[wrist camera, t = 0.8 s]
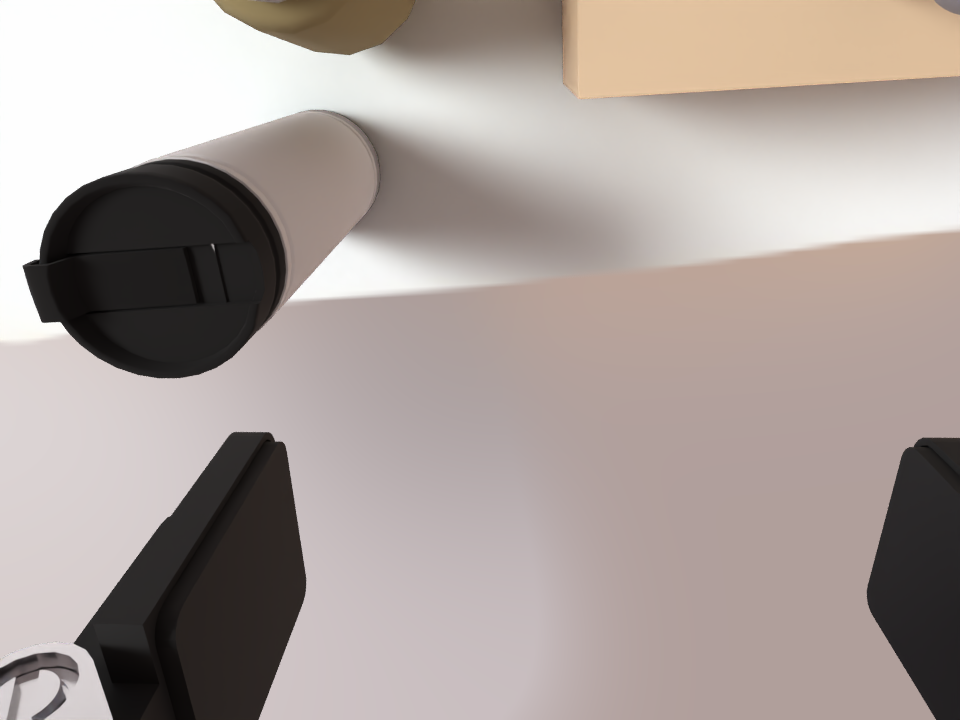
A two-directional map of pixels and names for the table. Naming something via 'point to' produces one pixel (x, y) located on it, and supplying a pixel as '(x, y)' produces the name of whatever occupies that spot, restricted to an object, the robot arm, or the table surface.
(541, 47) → the table surface
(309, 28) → the squeeze bottle
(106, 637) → the robot arm
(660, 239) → the table surface
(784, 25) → the lid flap
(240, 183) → the travel mug
